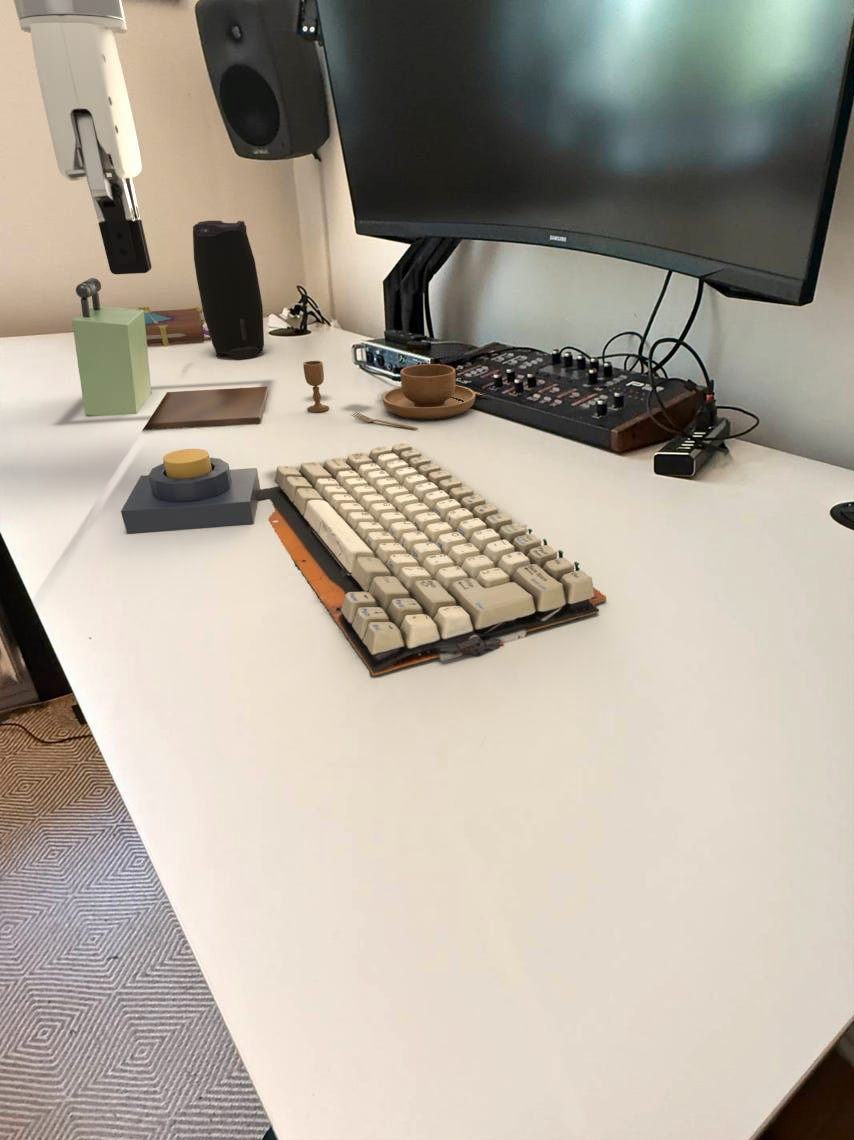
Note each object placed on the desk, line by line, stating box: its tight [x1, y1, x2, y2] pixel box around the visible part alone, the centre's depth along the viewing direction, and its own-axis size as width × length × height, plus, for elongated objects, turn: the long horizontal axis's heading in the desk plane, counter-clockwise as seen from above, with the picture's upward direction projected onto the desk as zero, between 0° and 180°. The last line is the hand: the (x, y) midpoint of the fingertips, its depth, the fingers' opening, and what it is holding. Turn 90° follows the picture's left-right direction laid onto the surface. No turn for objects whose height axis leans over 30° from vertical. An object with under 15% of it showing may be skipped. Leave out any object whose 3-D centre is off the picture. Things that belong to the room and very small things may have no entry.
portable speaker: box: [192, 220, 265, 361], centre depth 127 cm, size 9×9×20 cm
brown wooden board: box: [142, 386, 269, 431], centre depth 104 cm, size 23×15×1 cm, turn 99°
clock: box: [71, 277, 152, 417], centre depth 99 cm, size 6×10×15 cm, turn 9°
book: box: [136, 306, 210, 347], centre depth 144 cm, size 16×25×5 cm, turn 107°
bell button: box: [162, 448, 212, 479], centre depth 73 cm, size 4×4×2 cm
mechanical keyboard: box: [258, 442, 607, 676], centre depth 68 cm, size 38×19×3 cm, turn 27°
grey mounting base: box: [120, 457, 261, 535], centre depth 74 cm, size 11×9×4 cm
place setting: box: [302, 360, 485, 430], centre depth 103 cm, size 18×20×6 cm
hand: (131, 272), depth 70 cm, fingers closed
